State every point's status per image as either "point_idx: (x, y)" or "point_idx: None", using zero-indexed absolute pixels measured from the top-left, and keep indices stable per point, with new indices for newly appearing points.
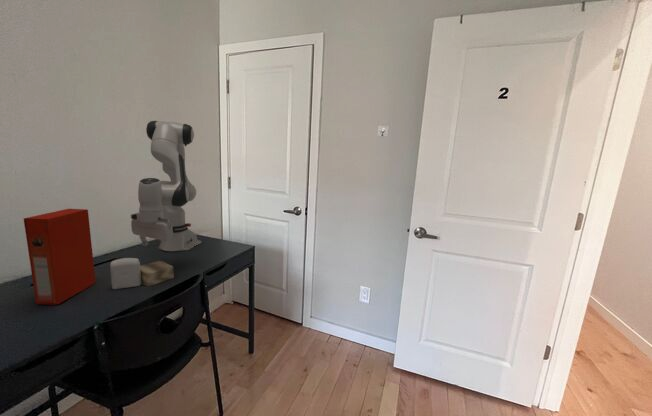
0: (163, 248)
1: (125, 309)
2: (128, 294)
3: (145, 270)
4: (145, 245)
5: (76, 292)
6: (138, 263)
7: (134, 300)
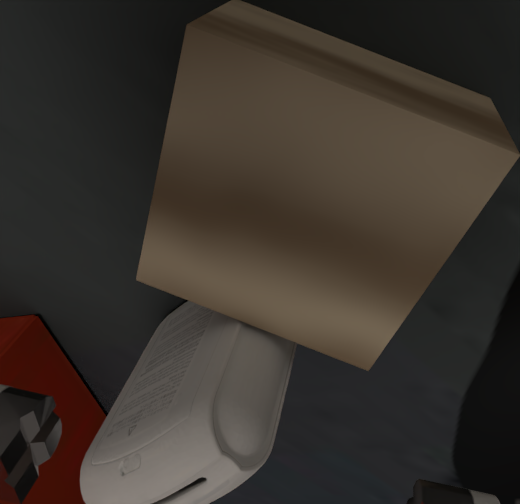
0: (488, 502)
1: (450, 482)
2: (334, 380)
3: (285, 314)
4: (60, 428)
5: (98, 415)
6: (260, 441)
7: (426, 423)
